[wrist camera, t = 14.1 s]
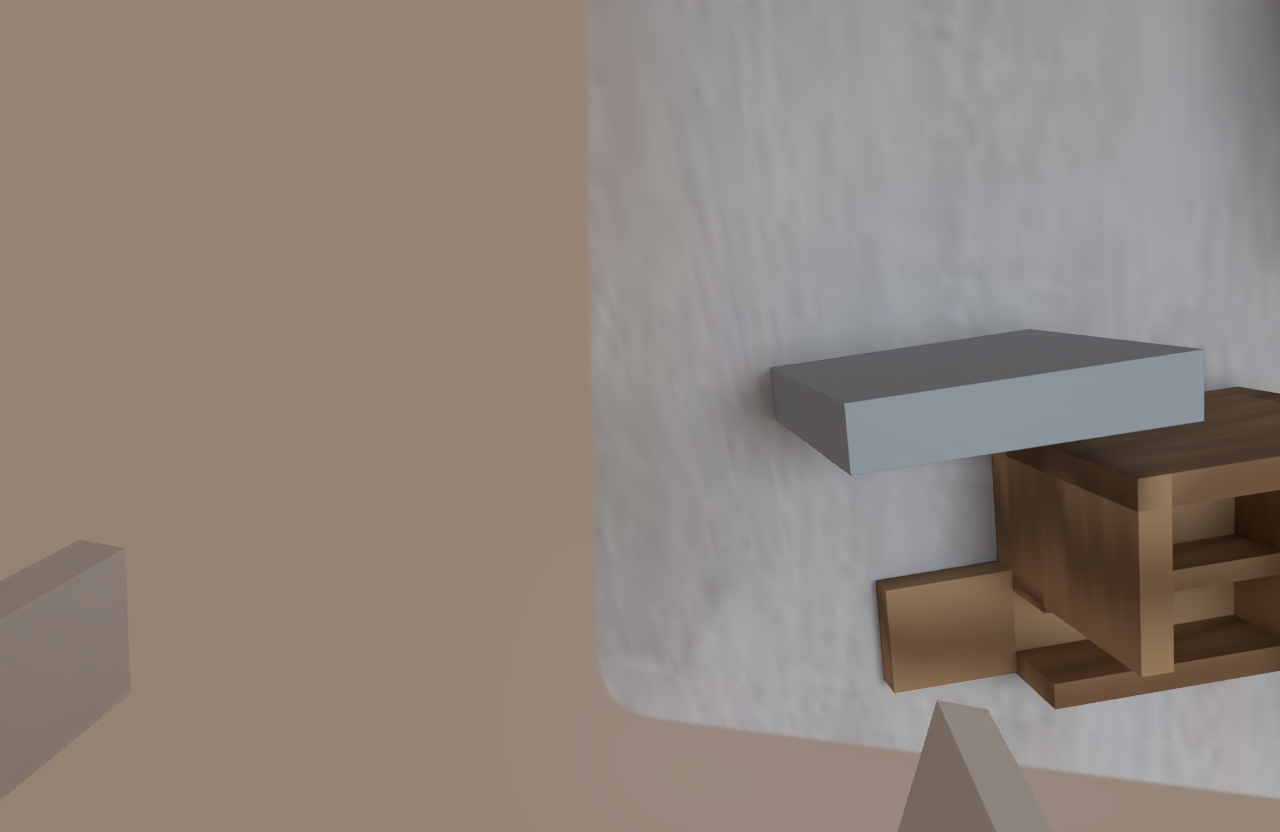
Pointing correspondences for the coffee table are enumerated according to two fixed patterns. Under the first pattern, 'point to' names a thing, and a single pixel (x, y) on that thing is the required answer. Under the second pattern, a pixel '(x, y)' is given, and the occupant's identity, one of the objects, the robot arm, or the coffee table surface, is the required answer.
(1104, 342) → the grey rectangular slab
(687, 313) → the coffee table surface
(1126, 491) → the box
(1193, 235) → the coffee table surface
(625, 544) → the coffee table surface
